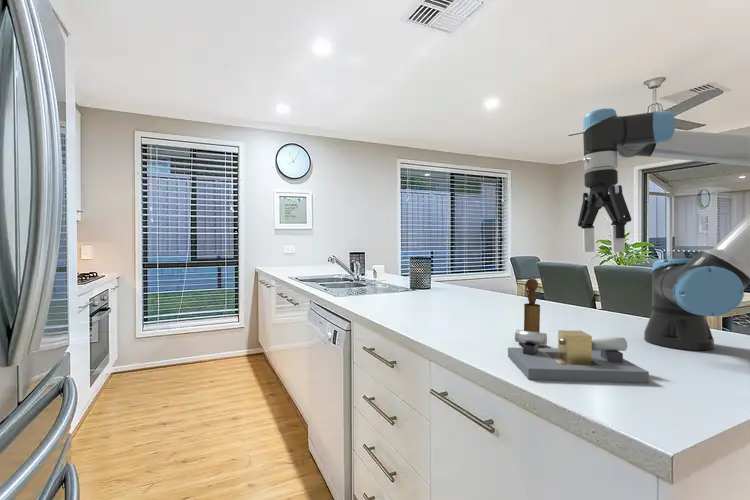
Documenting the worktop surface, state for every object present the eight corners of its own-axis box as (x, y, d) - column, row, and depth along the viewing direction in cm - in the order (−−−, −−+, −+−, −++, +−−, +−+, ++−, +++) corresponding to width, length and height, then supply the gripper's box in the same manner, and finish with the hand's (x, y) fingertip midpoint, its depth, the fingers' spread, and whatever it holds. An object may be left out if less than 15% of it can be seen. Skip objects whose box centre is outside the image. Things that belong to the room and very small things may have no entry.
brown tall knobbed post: (547, 349, 100) (547, 280, 100) (520, 348, 101) (521, 279, 101) (541, 343, 107) (542, 278, 106) (516, 341, 108) (517, 277, 108)
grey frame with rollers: (606, 358, 92) (607, 329, 92) (648, 383, 76) (649, 347, 76) (507, 356, 94) (508, 327, 94) (528, 379, 78) (528, 344, 78)
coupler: (583, 361, 87) (583, 330, 87) (593, 368, 82) (594, 336, 82) (555, 360, 88) (556, 330, 87) (564, 368, 83) (564, 335, 82)
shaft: (547, 352, 90) (547, 331, 89) (543, 356, 86) (543, 335, 86) (518, 347, 93) (518, 328, 93) (513, 352, 90) (513, 331, 90)
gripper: (563, 179, 113) (565, 251, 113) (614, 160, 88) (616, 252, 89) (589, 179, 113) (591, 251, 113) (647, 159, 88) (650, 251, 88)
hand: (602, 252), depth 101 cm, fingers open, 13 cm apart
